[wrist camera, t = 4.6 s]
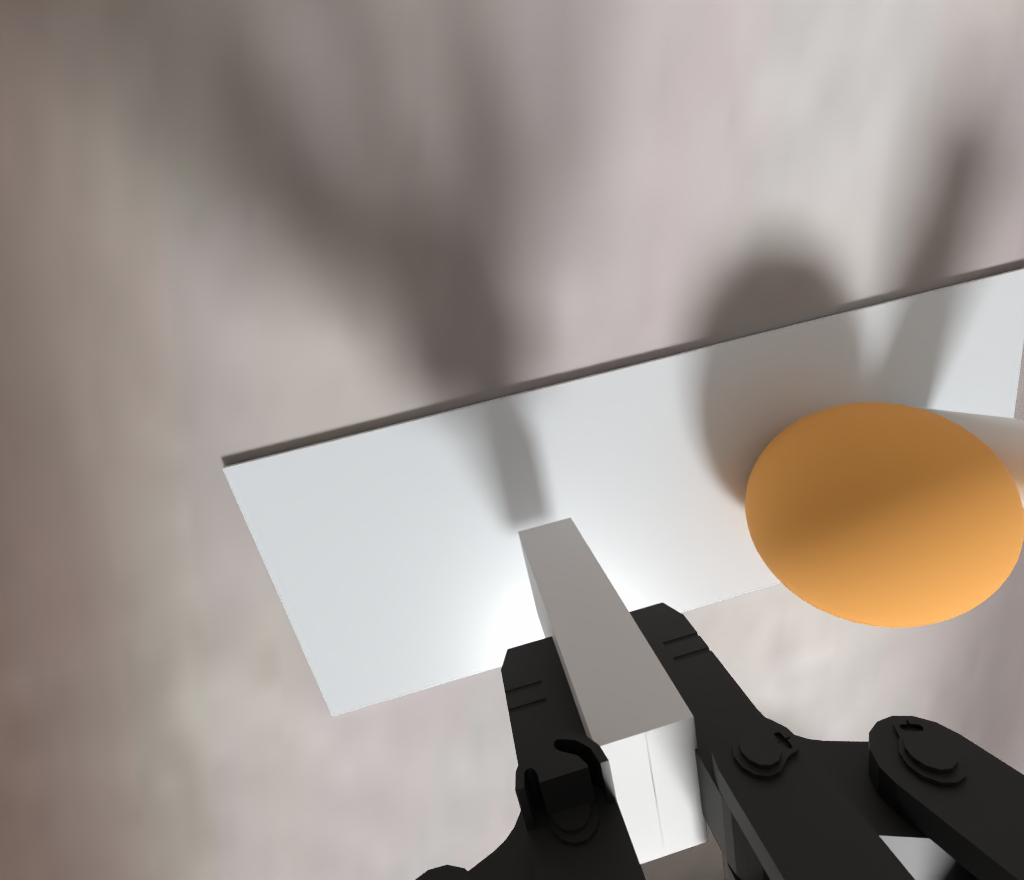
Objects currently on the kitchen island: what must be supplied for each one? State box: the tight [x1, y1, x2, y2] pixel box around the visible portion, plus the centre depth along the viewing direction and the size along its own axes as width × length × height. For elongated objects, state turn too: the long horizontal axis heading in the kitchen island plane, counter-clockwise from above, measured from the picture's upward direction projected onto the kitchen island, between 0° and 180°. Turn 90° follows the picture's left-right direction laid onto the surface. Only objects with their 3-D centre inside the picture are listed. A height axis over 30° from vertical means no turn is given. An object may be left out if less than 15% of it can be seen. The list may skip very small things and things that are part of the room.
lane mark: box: [222, 268, 1024, 717], centre depth 16 cm, size 25×9×1 cm, turn 102°
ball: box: [745, 402, 1024, 628], centre depth 13 cm, size 6×6×6 cm
